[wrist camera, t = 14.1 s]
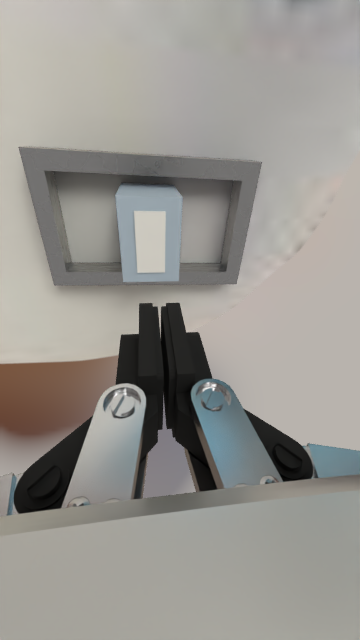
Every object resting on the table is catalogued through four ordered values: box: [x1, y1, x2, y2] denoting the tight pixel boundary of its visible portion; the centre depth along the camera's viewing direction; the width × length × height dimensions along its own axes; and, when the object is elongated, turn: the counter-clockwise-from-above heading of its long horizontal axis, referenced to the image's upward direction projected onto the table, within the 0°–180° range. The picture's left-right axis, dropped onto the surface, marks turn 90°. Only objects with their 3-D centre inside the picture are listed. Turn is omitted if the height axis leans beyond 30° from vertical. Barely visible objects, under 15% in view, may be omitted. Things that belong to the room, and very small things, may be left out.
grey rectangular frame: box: [19, 147, 262, 285], centre depth 25 cm, size 20×12×2 cm, turn 87°
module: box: [115, 183, 183, 282], centre depth 23 cm, size 5×7×7 cm
